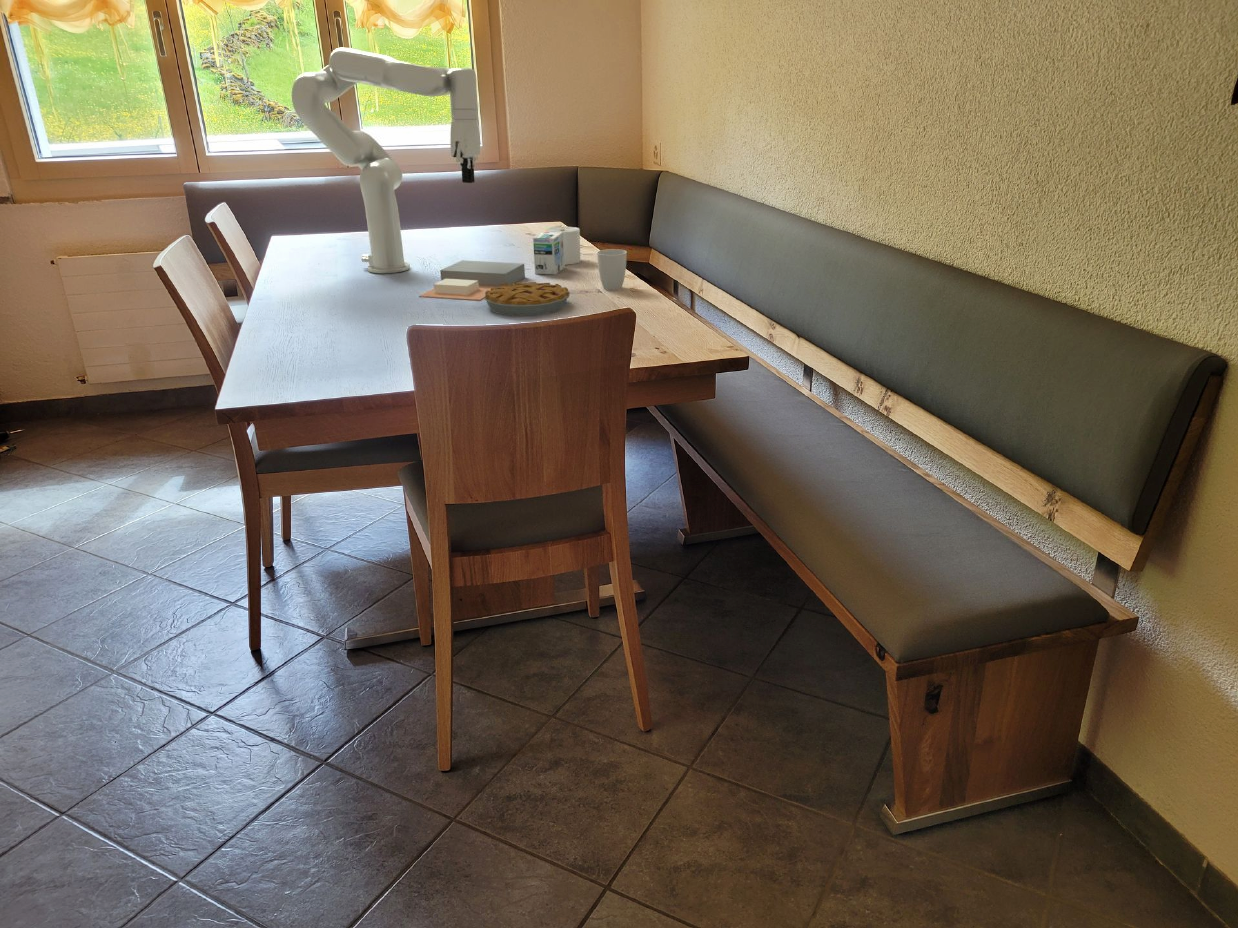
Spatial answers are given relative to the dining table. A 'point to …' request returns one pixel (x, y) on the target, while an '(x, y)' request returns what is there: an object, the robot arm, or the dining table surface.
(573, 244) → the toilet tissue
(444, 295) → the mat
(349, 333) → the dining table surface
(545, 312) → the pie
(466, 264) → the grey flat slab
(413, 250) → the dining table surface
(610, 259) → the cup
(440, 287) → the cream rectangular block
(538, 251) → the light bulb box
